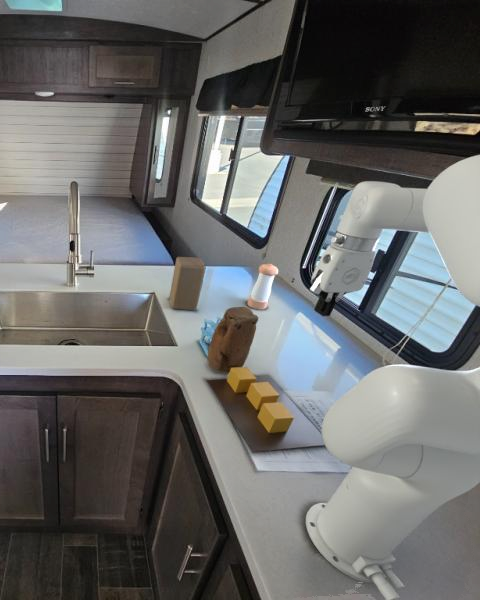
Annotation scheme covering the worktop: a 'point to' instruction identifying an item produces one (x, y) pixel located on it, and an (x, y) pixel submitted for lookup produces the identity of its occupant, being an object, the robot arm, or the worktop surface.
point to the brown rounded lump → (232, 339)
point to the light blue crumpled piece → (208, 332)
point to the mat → (251, 426)
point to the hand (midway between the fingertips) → (321, 313)
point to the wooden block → (187, 283)
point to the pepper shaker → (262, 287)
